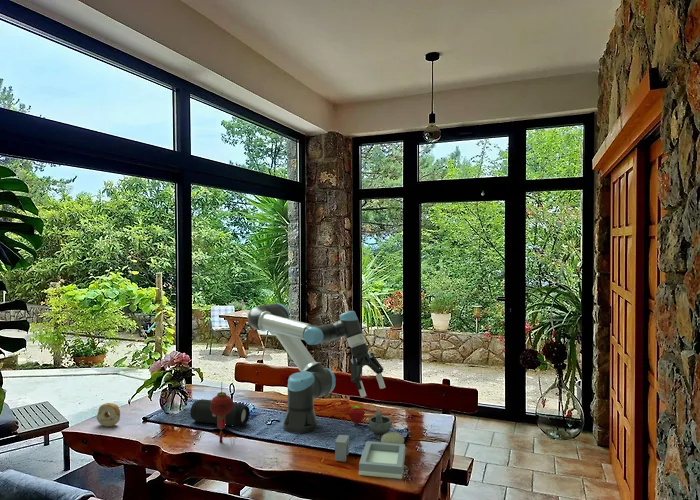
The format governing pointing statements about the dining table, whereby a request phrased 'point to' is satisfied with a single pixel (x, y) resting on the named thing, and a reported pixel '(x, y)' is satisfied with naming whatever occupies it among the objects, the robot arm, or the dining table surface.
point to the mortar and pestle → (379, 425)
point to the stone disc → (104, 416)
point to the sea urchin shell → (392, 438)
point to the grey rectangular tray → (382, 460)
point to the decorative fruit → (356, 414)
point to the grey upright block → (341, 447)
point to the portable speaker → (203, 414)
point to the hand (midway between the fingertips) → (373, 392)
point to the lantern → (221, 409)
